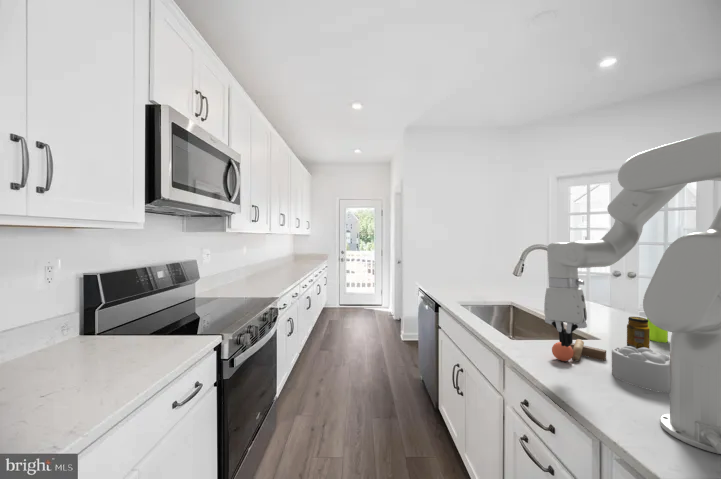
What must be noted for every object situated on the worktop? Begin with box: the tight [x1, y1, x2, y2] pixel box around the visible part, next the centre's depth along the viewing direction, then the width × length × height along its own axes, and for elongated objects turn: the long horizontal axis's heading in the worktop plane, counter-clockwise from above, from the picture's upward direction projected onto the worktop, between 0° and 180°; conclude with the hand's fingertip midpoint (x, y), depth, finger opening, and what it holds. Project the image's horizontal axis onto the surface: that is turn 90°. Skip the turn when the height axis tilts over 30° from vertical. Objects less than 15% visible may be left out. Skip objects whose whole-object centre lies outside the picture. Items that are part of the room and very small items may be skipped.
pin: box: [571, 338, 585, 362], centre depth 105 cm, size 2×2×8 cm
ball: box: [551, 341, 573, 362], centre depth 103 cm, size 6×6×6 cm
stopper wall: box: [570, 342, 607, 361], centre depth 108 cm, size 2×12×3 cm, turn 41°
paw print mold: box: [611, 345, 670, 393], centre depth 89 cm, size 10×13×9 cm
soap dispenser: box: [646, 317, 669, 343], centre depth 123 cm, size 6×7×20 cm
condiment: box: [626, 316, 651, 349], centre depth 110 cm, size 7×8×12 cm
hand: (566, 345), depth 93 cm, fingers closed
